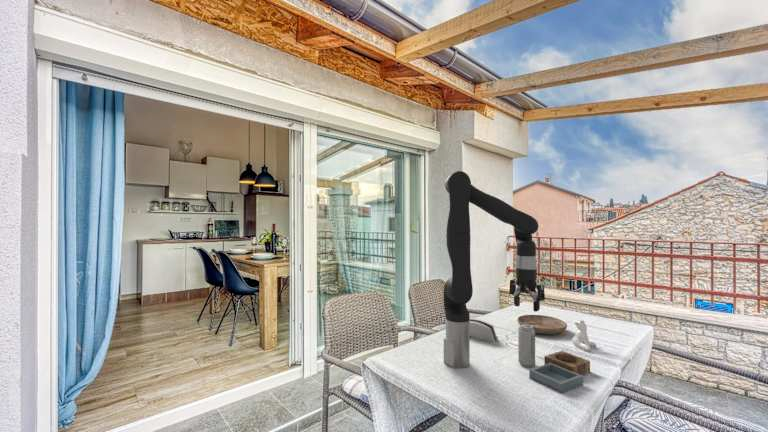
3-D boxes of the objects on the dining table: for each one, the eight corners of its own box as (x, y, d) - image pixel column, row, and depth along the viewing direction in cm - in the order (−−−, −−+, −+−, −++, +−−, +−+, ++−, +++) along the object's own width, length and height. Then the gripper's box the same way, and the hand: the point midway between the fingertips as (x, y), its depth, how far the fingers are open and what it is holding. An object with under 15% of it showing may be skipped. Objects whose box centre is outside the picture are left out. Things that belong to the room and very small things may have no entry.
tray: (561, 393, 108) (561, 384, 108) (529, 378, 118) (529, 369, 118) (582, 384, 114) (582, 375, 114) (550, 370, 124) (550, 362, 124)
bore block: (572, 378, 118) (572, 367, 118) (543, 366, 128) (543, 355, 128) (591, 371, 124) (591, 361, 124) (561, 360, 134) (561, 350, 134)
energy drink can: (521, 360, 134) (521, 322, 134) (537, 364, 130) (536, 325, 130) (516, 365, 129) (516, 326, 130) (532, 369, 126) (532, 329, 126)
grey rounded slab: (498, 339, 157) (495, 321, 155) (494, 345, 154) (491, 326, 152) (467, 331, 169) (463, 314, 167) (462, 336, 166) (459, 319, 163)
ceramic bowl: (507, 327, 177) (507, 317, 177) (538, 321, 187) (538, 312, 187) (544, 341, 156) (544, 330, 156) (577, 334, 166) (577, 324, 166)
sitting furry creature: (589, 352, 142) (589, 324, 142) (568, 347, 149) (568, 320, 149) (597, 347, 148) (597, 320, 148) (576, 342, 155) (576, 316, 155)
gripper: (504, 265, 135) (505, 305, 135) (536, 270, 122) (536, 314, 122) (517, 264, 139) (517, 303, 138) (548, 268, 126) (549, 311, 126)
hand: (526, 308), depth 130 cm, fingers open, 8 cm apart
